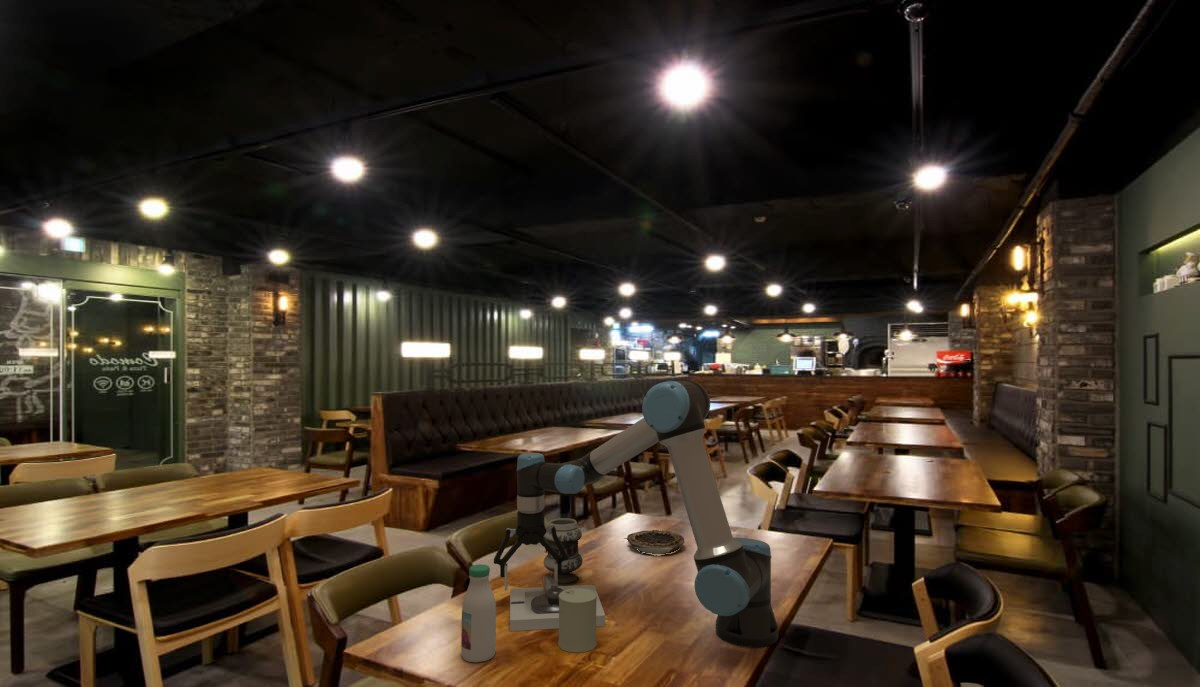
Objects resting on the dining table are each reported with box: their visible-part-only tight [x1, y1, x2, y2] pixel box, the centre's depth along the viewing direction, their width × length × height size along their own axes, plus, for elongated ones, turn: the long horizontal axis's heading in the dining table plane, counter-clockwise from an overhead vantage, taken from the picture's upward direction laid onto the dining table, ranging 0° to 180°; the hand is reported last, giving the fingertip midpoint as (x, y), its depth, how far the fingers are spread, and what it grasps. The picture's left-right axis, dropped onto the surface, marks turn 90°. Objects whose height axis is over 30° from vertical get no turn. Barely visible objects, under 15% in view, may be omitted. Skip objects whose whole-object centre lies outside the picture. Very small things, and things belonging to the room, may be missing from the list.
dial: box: [531, 572, 563, 614], centre depth 170 cm, size 16×13×6 cm
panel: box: [509, 584, 606, 632], centre depth 168 cm, size 22×24×3 cm
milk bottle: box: [460, 563, 497, 663], centre depth 143 cm, size 8×8×20 cm
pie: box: [623, 529, 686, 554], centre depth 226 cm, size 28×27×5 cm
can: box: [557, 588, 598, 654], centre depth 149 cm, size 9×9×12 cm
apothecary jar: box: [543, 517, 583, 586], centre depth 193 cm, size 12×12×18 cm
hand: (531, 587), depth 173 cm, fingers open, 13 cm apart
